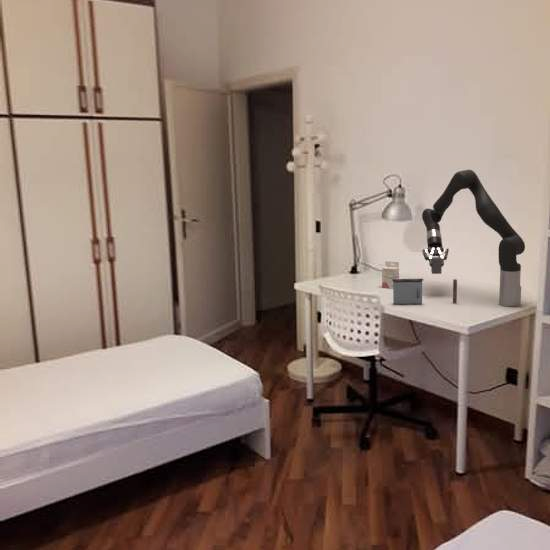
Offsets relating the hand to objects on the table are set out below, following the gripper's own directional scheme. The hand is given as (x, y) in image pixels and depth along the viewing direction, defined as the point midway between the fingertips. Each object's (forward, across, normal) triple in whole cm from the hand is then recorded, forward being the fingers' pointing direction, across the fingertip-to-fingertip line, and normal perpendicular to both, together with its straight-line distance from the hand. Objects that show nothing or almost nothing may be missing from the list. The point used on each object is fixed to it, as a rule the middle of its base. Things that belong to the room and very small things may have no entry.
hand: (436, 265), depth 300 cm
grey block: (+22, -16, 0) cm, 28 cm away
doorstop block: (+2, 0, +4) cm, 5 cm away
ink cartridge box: (-5, -23, +28) cm, 37 cm away
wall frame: (+21, -8, +2) cm, 23 cm away
